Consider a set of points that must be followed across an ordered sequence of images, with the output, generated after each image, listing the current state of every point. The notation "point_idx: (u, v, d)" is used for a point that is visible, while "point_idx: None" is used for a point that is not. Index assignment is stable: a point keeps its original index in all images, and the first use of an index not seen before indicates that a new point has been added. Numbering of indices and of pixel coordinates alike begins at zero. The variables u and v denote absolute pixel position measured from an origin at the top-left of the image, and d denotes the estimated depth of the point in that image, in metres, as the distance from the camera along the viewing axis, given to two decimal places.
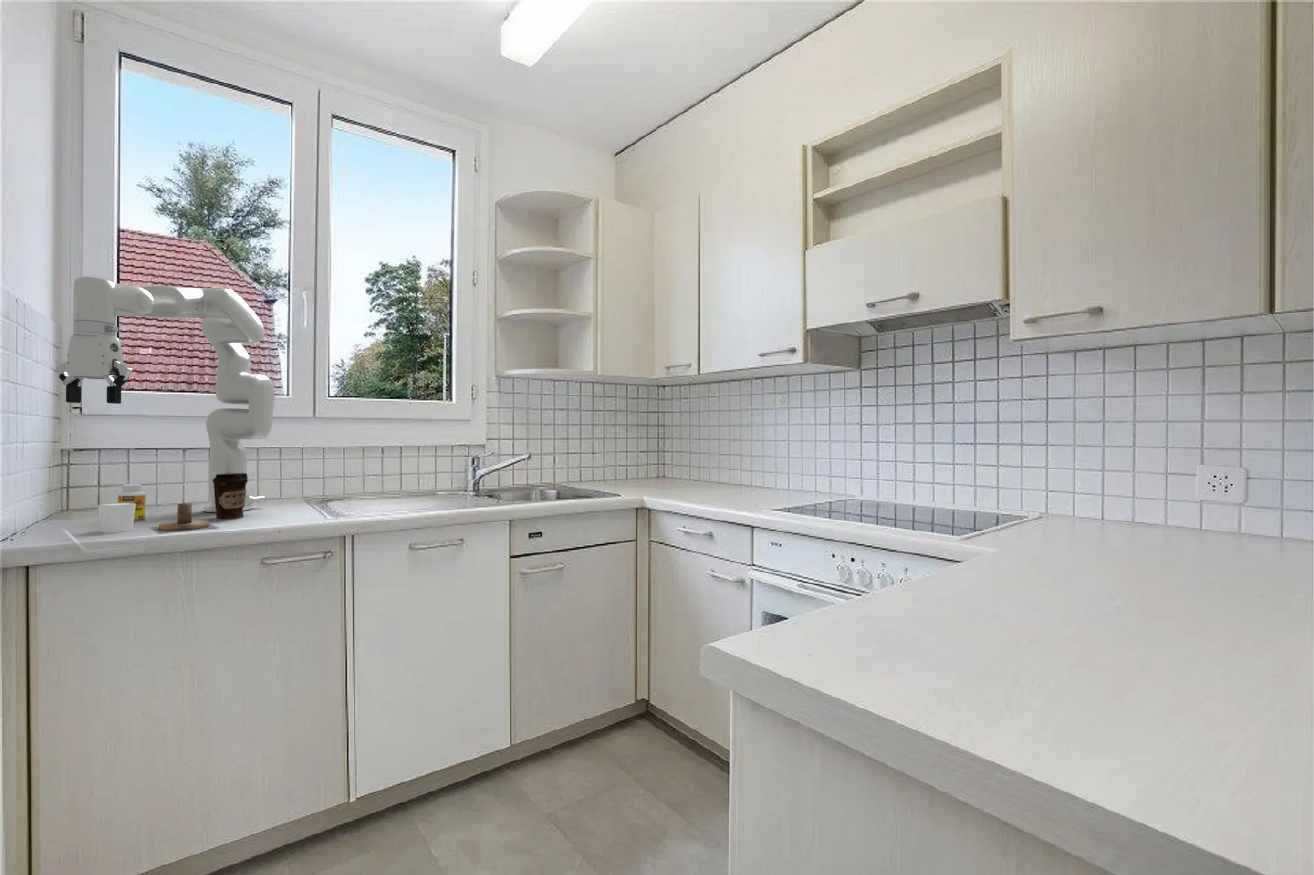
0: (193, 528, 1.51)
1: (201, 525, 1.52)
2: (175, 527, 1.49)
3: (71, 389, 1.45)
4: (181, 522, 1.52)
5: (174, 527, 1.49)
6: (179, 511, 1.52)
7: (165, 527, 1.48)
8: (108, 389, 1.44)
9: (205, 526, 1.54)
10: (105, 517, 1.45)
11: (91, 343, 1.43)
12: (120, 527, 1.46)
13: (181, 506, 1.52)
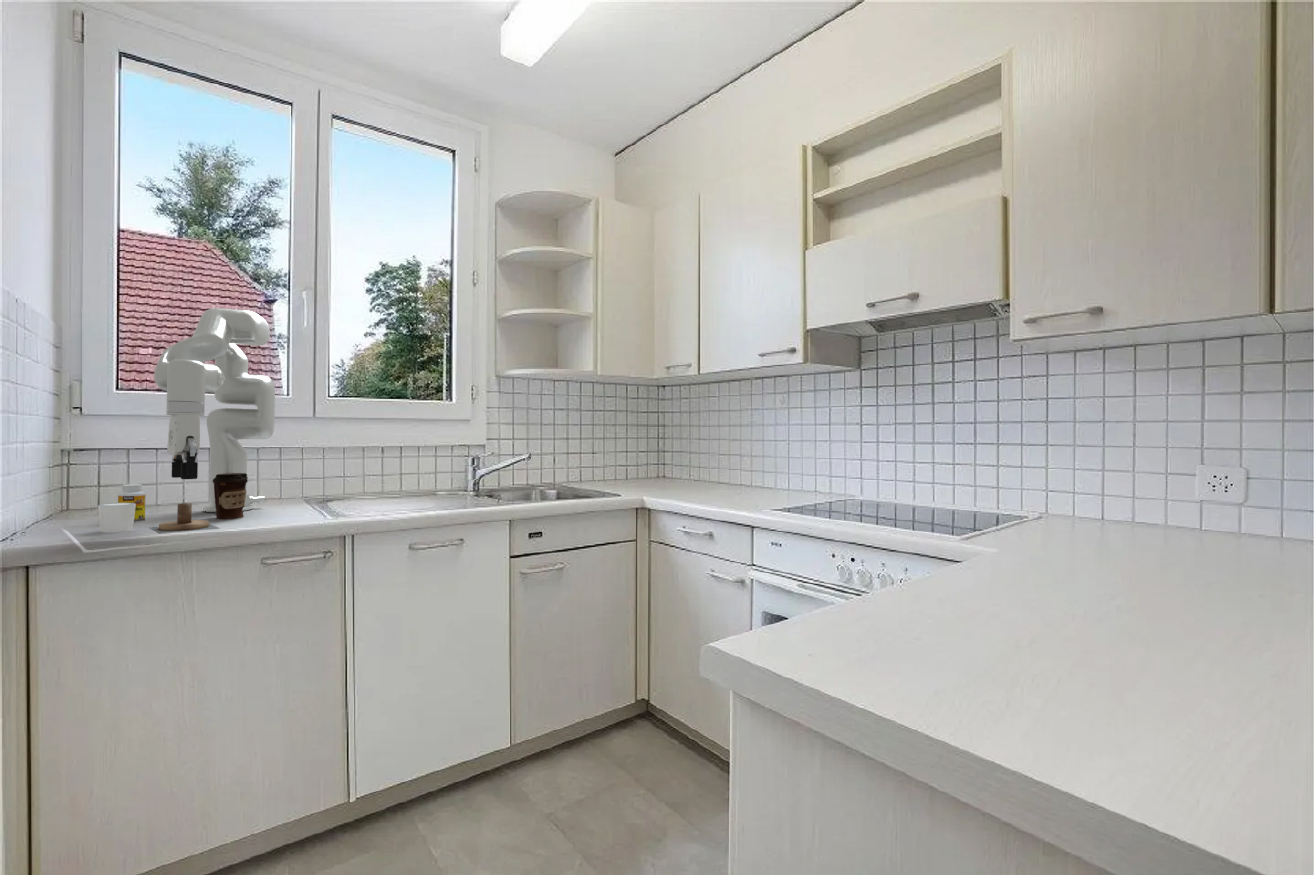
0: (193, 528, 1.51)
1: (201, 525, 1.53)
2: (175, 527, 1.49)
3: None
4: (181, 522, 1.52)
5: (174, 527, 1.49)
6: (179, 511, 1.52)
7: (165, 527, 1.48)
8: None
9: (205, 526, 1.54)
10: (105, 517, 1.45)
11: None
12: (120, 527, 1.46)
13: (181, 506, 1.52)
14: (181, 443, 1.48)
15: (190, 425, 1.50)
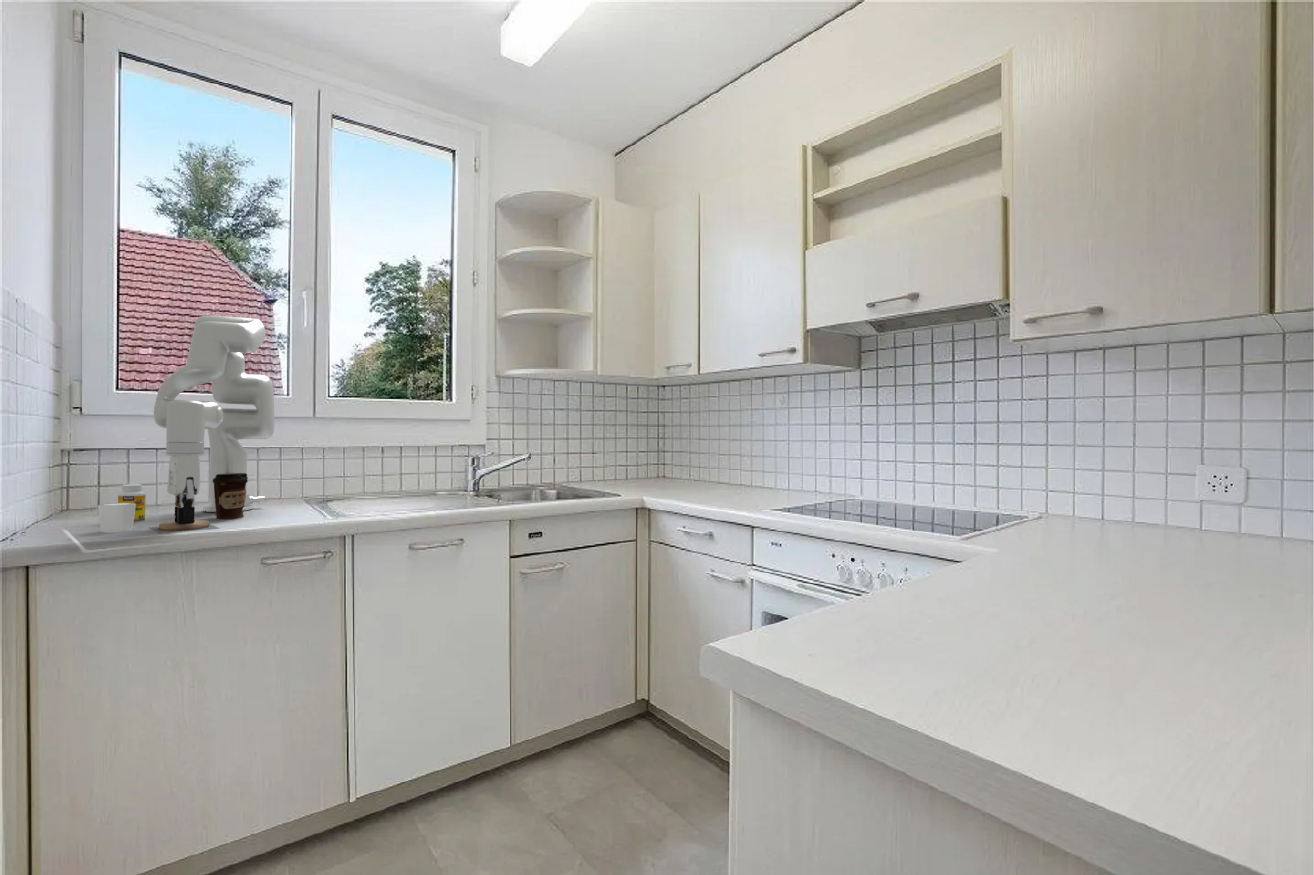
0: (193, 528, 1.51)
1: (201, 525, 1.53)
2: (176, 527, 1.49)
3: None
4: None
5: (174, 527, 1.49)
6: None
7: (165, 527, 1.48)
8: None
9: (205, 526, 1.54)
10: (105, 517, 1.45)
11: None
12: (120, 527, 1.46)
13: None
14: (181, 485, 1.49)
15: (190, 466, 1.50)
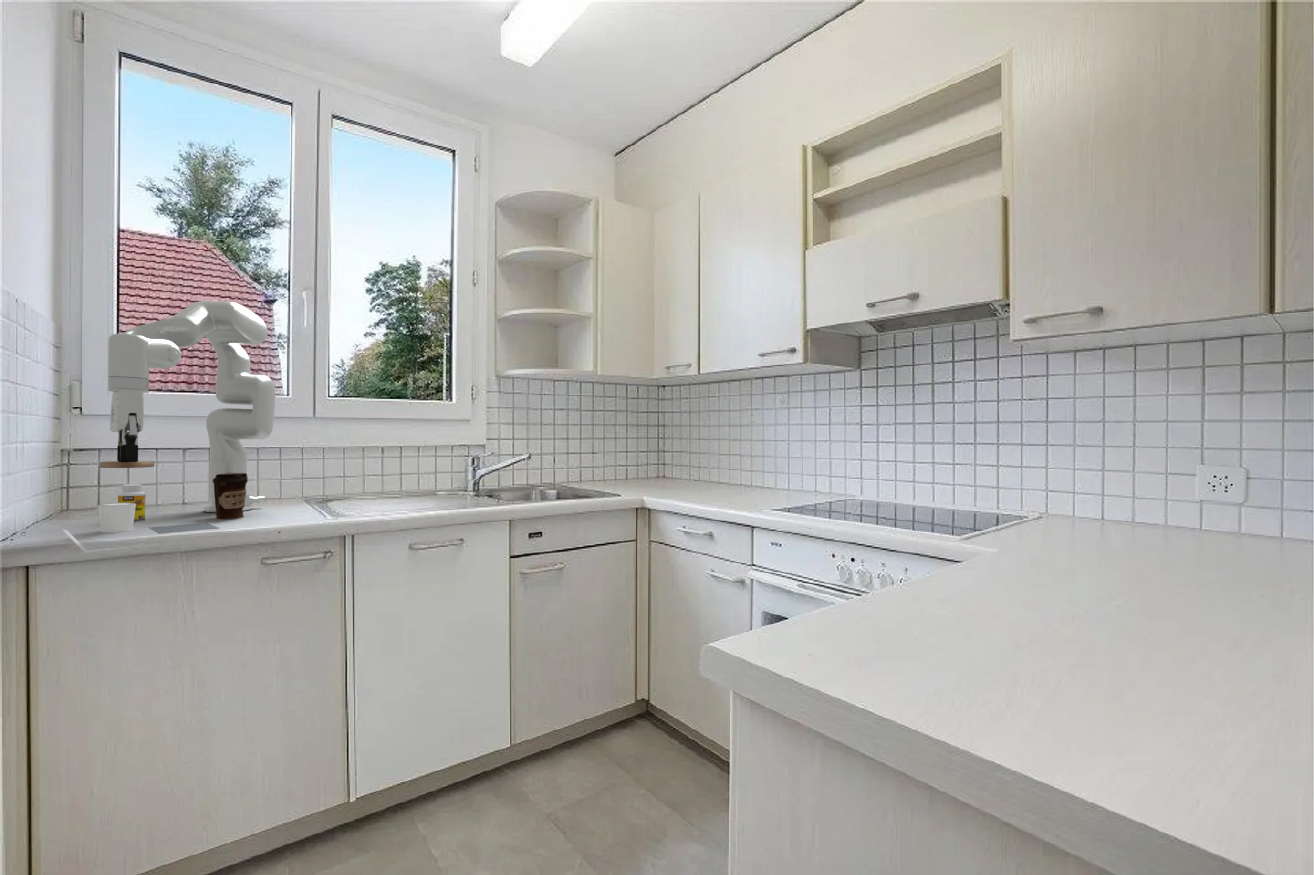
0: (136, 466, 1.46)
1: (145, 464, 1.48)
2: (117, 464, 1.44)
3: None
4: None
5: (116, 464, 1.43)
6: None
7: (106, 464, 1.43)
8: None
9: (150, 465, 1.49)
10: (105, 517, 1.45)
11: None
12: (120, 527, 1.46)
13: None
14: (123, 420, 1.44)
15: (133, 401, 1.45)
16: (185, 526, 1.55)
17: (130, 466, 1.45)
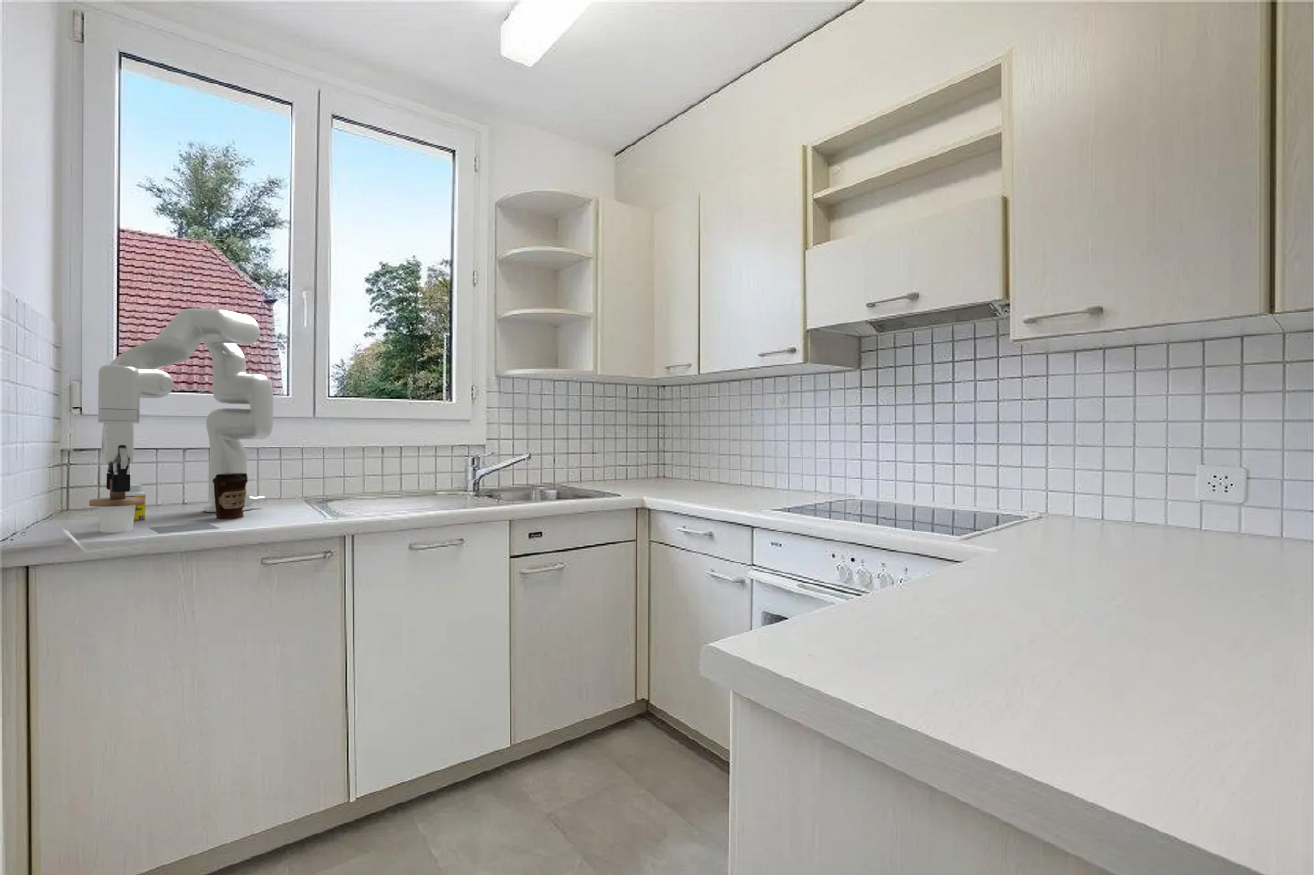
0: (126, 504, 1.45)
1: (135, 501, 1.47)
2: (107, 502, 1.43)
3: None
4: (114, 498, 1.46)
5: (105, 502, 1.43)
6: (111, 486, 1.46)
7: (96, 502, 1.43)
8: None
9: (140, 502, 1.48)
10: (105, 517, 1.45)
11: None
12: (120, 527, 1.46)
13: None
14: (112, 453, 1.43)
15: (123, 433, 1.45)
16: (185, 526, 1.55)
17: (119, 504, 1.44)
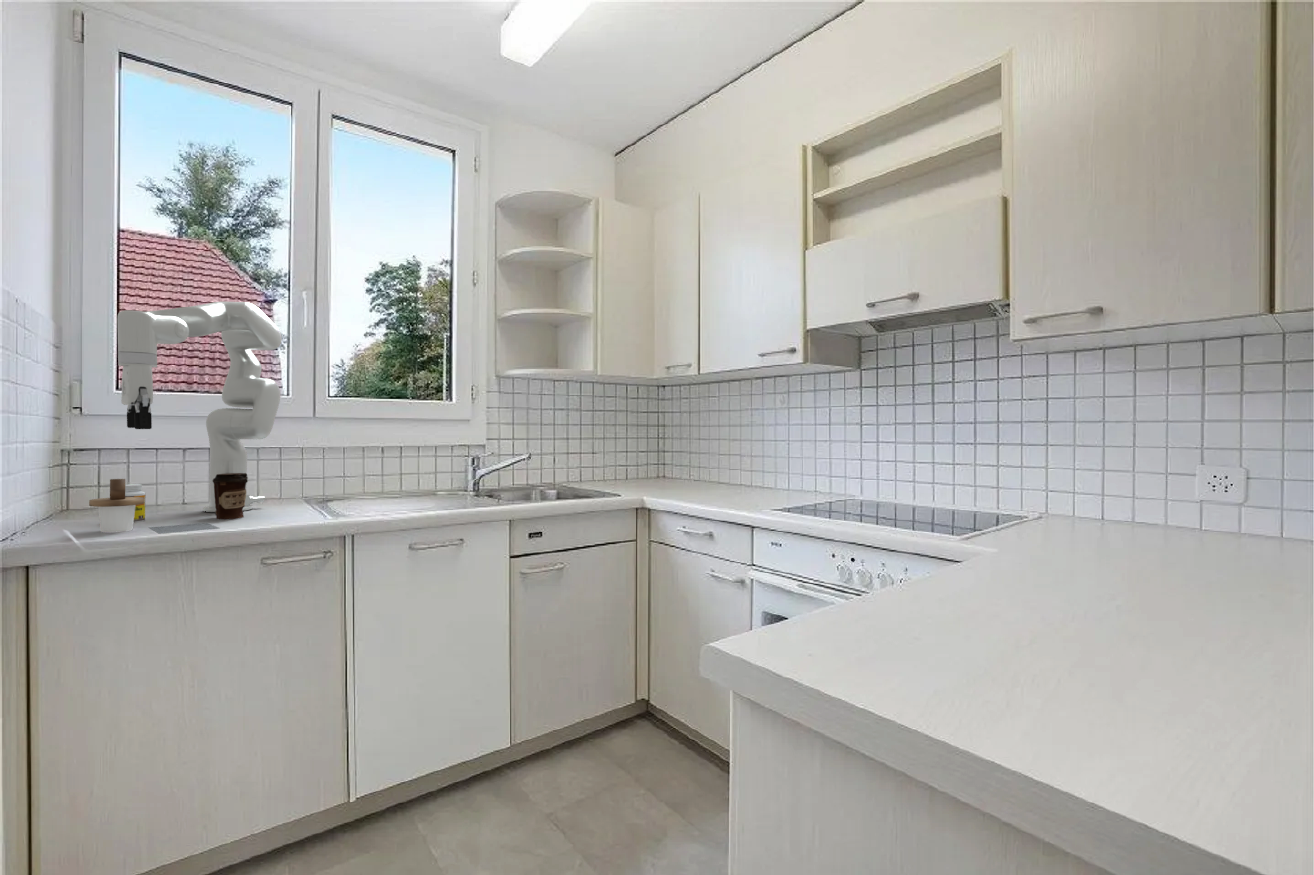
0: (126, 504, 1.45)
1: (135, 501, 1.47)
2: (106, 502, 1.43)
3: None
4: (113, 498, 1.46)
5: (105, 502, 1.43)
6: (111, 486, 1.46)
7: (95, 502, 1.43)
8: None
9: (139, 502, 1.48)
10: (105, 517, 1.45)
11: None
12: (120, 527, 1.46)
13: (113, 481, 1.46)
14: (133, 393, 1.51)
15: (143, 376, 1.52)
16: (185, 526, 1.55)
17: (119, 504, 1.44)
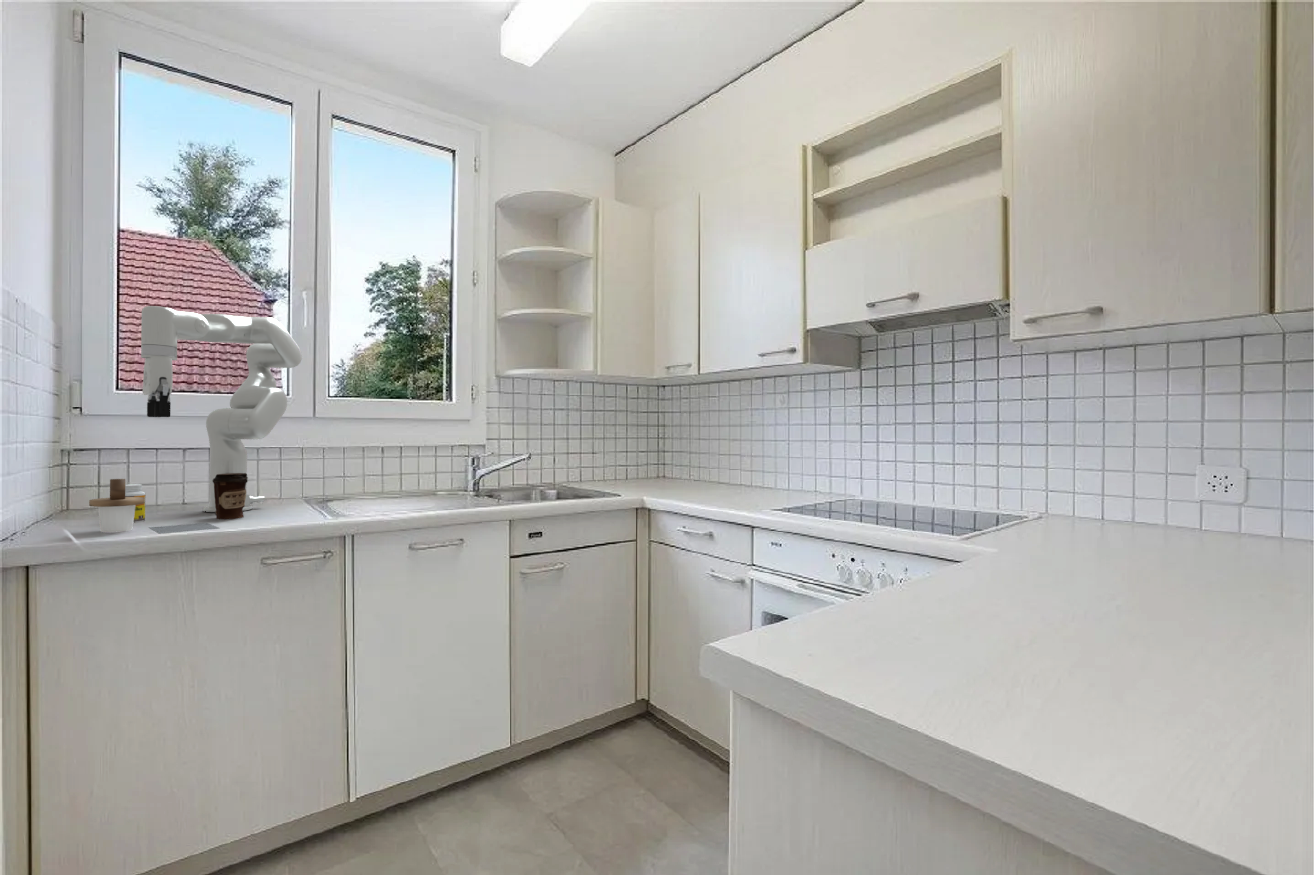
0: (126, 504, 1.45)
1: (135, 501, 1.47)
2: (106, 502, 1.43)
3: None
4: (113, 498, 1.46)
5: (105, 503, 1.43)
6: (111, 486, 1.46)
7: (95, 503, 1.43)
8: None
9: (139, 502, 1.48)
10: (105, 517, 1.45)
11: None
12: (120, 527, 1.46)
13: (113, 481, 1.46)
14: (154, 383, 1.60)
15: (163, 367, 1.62)
16: (185, 526, 1.55)
17: (119, 504, 1.44)
